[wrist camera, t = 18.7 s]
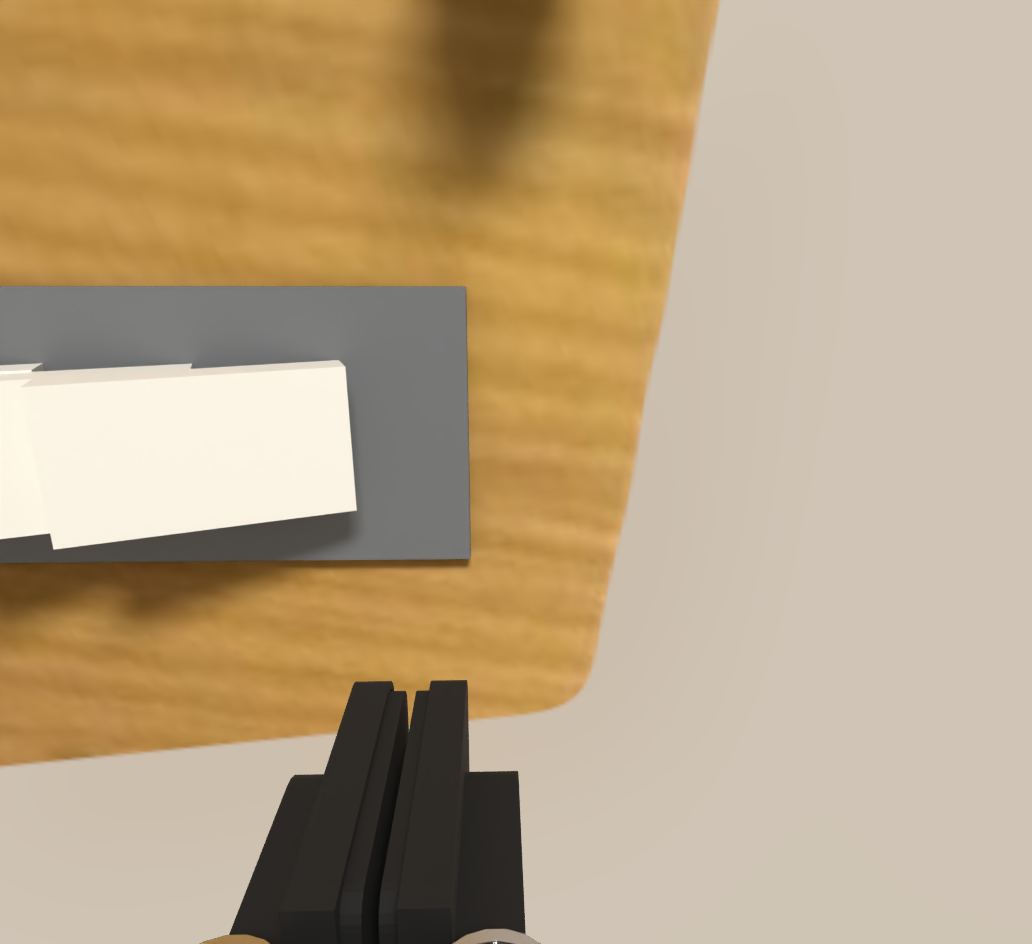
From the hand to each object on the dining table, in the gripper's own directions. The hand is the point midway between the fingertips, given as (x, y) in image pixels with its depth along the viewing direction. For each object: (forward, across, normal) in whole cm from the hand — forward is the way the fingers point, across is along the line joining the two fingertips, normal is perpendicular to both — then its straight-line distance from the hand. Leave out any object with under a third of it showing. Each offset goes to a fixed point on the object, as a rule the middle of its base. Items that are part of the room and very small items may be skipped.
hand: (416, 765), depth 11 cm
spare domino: (+20, +5, 0) cm, 21 cm away
